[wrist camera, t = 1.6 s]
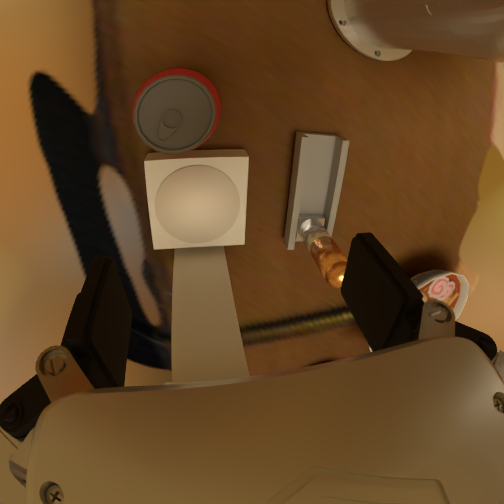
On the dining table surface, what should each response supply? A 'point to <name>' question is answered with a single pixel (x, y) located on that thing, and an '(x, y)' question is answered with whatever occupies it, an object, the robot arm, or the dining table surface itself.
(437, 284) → the ramen bowl
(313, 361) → the dining table surface
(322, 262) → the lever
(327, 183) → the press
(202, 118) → the beer can
